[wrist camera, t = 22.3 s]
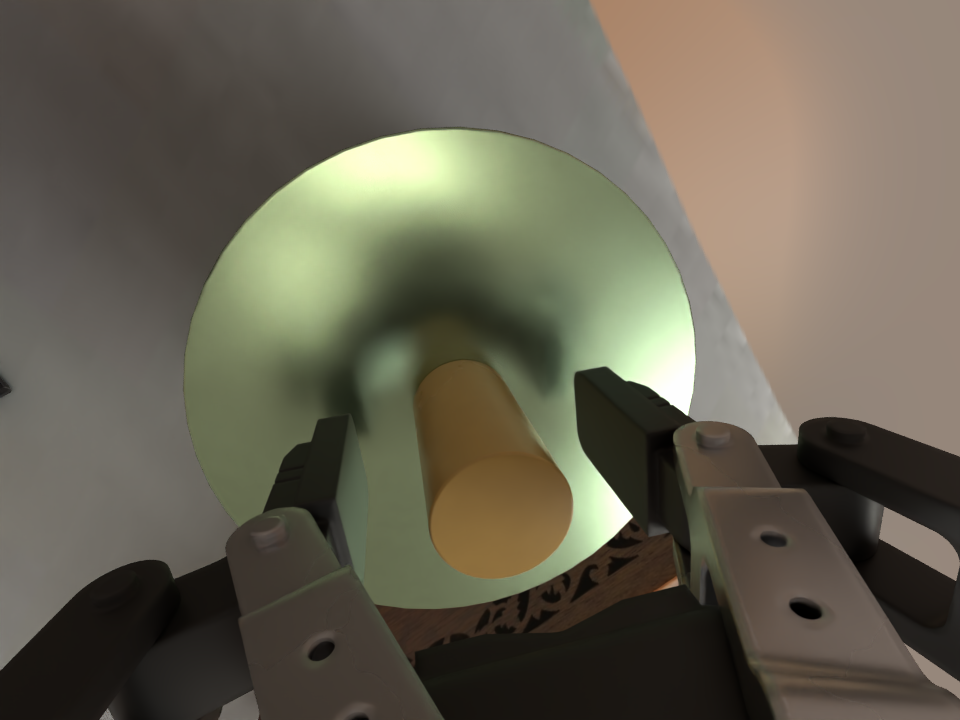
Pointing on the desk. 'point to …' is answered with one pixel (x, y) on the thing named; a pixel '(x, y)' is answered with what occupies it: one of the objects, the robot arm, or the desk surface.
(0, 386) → the ammunition clip
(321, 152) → the desk surface
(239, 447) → the lid
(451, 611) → the tissue box cover
